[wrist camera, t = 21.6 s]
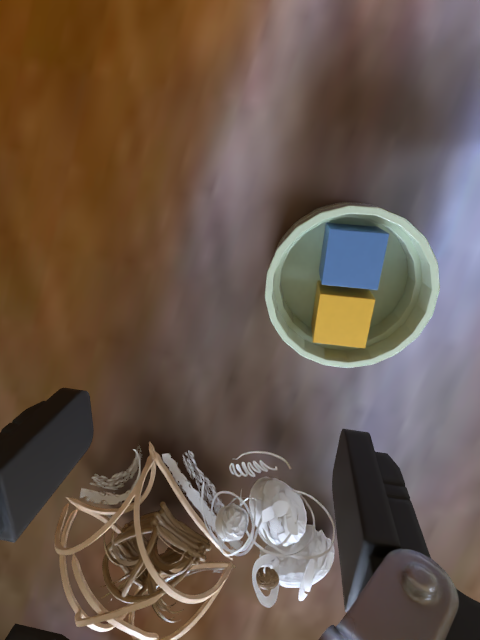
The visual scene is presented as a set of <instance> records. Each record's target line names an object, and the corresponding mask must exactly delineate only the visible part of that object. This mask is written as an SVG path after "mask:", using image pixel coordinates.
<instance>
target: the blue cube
mask: <svg viewBox="0 0 480 640" xmlns="http://www.w3.org/2000/svg"><path fill="white" fill-rule="evenodd" d="M388 238H389V233H387V232H385V231H384V230H382V229H380V228H379V227H376V226H363V225H350V224H336V223H326V224H325V231H324V238H323V245H322V252H321V259H320V266H319V275H320V280H321V284H322V285H331V286H341V287H351V288H362V289H372V290H378V286H379V281H380V277H381V272H382V267H383V262H384V257H385V253H386V248H387V243H388Z"/></svg>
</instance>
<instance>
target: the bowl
mask: <svg viewBox="0 0 480 640" xmlns="http://www.w3.org/2000/svg"><path fill="white" fill-rule="evenodd" d="M326 223H336V224H350V225H363V226H376V227H379V228H380V229H382V230H384V231H385V232H387V233H389V238H388V243H387V248H386V253H385V257H384V262H383V267H382V272H381V277H380V281H379V286H378V290H372V289H369V290H370V292H371V293H372V295H373V297H374V298H375V305H374V309H373V314H372V319H371V324H370V329H369V333H368V338H367V343H366V348H365V349H364V348H356V347H347V346H339V345H330V344H321V343H313V338H312V326H311V322H312V315H313V308H314V301H315V294H316V287H317V281H318V280H320V275H319V266H320V259H321V252H322V245H323V238H324V231H325V224H326ZM439 291H440V284H439V271H438V263H437V260H436V258H435V255H434V253H433V251H432V249H431V247H430V245H429V243H428V241H427V239H426V237H425V236H424V235H422V234H421V233H420V232H419V231H418V230H417V229H416V228H415V227H414V226H413V225H412V224H411V223H410V222H409V221H408V220H407V219H405V218H403V217H400V216H398V215H396V214H393V213H391V212H389V211H386V210H384V209H382V208H379V207H376V206H373V205H370V204H367V203H353V202H340V203H336V204H332V205H328V206H324V207H320V208H317V209H315V210H314V211H312V212H310V213H309V214H307V215H306V216H304V217H302V218H301V219H299V220H297V221H296V222H295V223H294V224H293V226H292V227H291V228H290V229H289V230H288V231H287V232H286V234H285V235H284V236H283V237H282V238H281V240H280V241H279V244H278V246H277V248H276V251H275V253H274V255H273V258H272V260H271V263H270V266H269V268H268V271H267V278H266V289H265V300H266V304H267V309H268V313H269V317H270V320H271V322H272V324H273V325H274V327H275V329H276V330H277V332H278V333H279V335H280V337H281V338H282V340H283V341H284V342H286V343H287V344H288V345H289V346H290V347H292V348H293V349H294V350H295V351H296V352H297V353H299V354H300V355H301V356H303V357H306V358H308V359H310V360H313V361H315V362H317V363H320V364H322V365H327V366H335V367H343V368H352V367H359V366H366V365H373V364H375V363H378V362H380V361H382V360H385V359H387V358H389V357H391V356H394V355H396V354H398V353H399V352H400V351H402V350H403V349H404V348H405V347H406V346H408V345H409V344H410V343H411V342H412V341H414V340H415V339H416V338H417V337H418V336H419V335H420V333H421V332H422V330H423V329H424V327H425V326H426V324H427V323H428V321H429V320H430V318H431V317H432V315H433V312H434V309H435V305H436V301H437V298H438V294H439Z"/></svg>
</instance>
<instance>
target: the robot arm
mask: <svg viewBox="0 0 480 640" xmlns="http://www.w3.org/2000/svg"><path fill="white" fill-rule="evenodd" d="M92 438H93V421H92V412H91V403H90V396H89V393H88V392H87V391H83V390H76V389H70V388H61V389H60V390H58V391H57V392H56V393H55V394H54V395H53V396H51V397H50V398H49V399H48V400H47V401H42V402H40V403H38V404H36V405H34V406H32V407H30V408H28V409H26V410H25V411H24V412H22V413H21V414H20V415H19V416H18V417H16V418H15V419H14V420H13V422H12V423H9V424H8V425H7V426H6V427H4V428H3V429H2V431H1V433H0V540H5V541H10V542H15V541H16V540H17V539H18V538H19V536H20V535H21V534H22V533H23V531H24V530H25V529H26V527H27V526H28V525H29V524H30V522H31V521H32V520H33V519H34V517H35V516H36V515H37V513H38V512H39V511H40V510H41V508H42V507H43V506H44V505H45V503H46V502H47V501H48V499H49V498H50V497H51V496H52V494H53V493H54V492H55V491H56V489H57V488H58V487H59V485H60V484H61V483H62V482H63V480H64V479H65V478H66V477H67V475H68V474H69V473H70V471H71V470H72V469H73V468H74V466H75V465H76V464H77V463H78V461H79V460H80V459H81V457H82V456H83V455H84V454H85V452H86V451H87V450H88V448H89V446H90V444H91V442H92ZM332 491H333V501H334V510H335V520H336V529H337V539H338V548H339V558H340V567H341V576H342V586H343V595H344V605H345V612H347V613H346V615H345V616H344V617H343V619H342V620H341V622H340V623H339V624H338V625H337V626H336V627H335V626H334V625H331V626H330V627H328V628H327V630H326V631H325V632H324V633H323V634H322V636H321V637H320V638H319V640H480V603H479V602H477V601H475V600H473V599H471V598H469V597H468V596H466V595H464V594H463V593H461V592H460V591H459V590H457V589H456V588H455V586H454V584H453V582H452V580H451V579H450V577H449V576H448V574H447V573H446V572H445V571H444V570H443V569H442V568H441V567H440V566H439V565H438V564H437V563H436V562H435V561H433V560H432V559H431V557H430V554H429V552H428V549H427V546H426V543H425V540H424V537H423V534H422V531H421V529H420V526H419V523H418V520H417V517H416V514H415V511H414V508H413V505H412V503H411V501H410V497H409V494H408V491H407V488H406V487H405V482H404V480H403V477H402V474H401V471H400V468H399V467H398V466H397V465H396V463H395V462H394V461H393V460H392V459H391V457H390V456H389V455H388V454H386V453H380V452H375V451H374V447H373V444H372V440H371V436H370V434H369V433H368V432H361V431H354V430H347V429H342V431H341V435H340V439H339V444H338V449H337V454H336V459H335V464H334V469H333V479H332ZM5 640H69V639H68V638H66V637H65V636H63V635H62V634H57V633H53V632H49V631H45V630H40V629H36V628H32V627H28V626H23V625H19V624H15V625H14V626H13V628H12V629H11V631H10V633H9V634H8V636H7V637H6V639H5Z"/></svg>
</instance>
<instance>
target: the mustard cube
mask: <svg viewBox="0 0 480 640" xmlns="http://www.w3.org/2000/svg"><path fill="white" fill-rule="evenodd" d="M374 305H375V298H374V297H373V295H372V293H371V292H370V290H369V289H362V288H351V287H341V286H331V285H322V284H321V280H318V281H317V287H316V294H315V301H314V308H313V315H312V322H311V326H312V338H313V343H321V344H330V345H339V346H347V347H356V348H364V349H365V348H366V343H367V338H368V333H369V329H370V324H371V319H372V314H373V309H374Z"/></svg>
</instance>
